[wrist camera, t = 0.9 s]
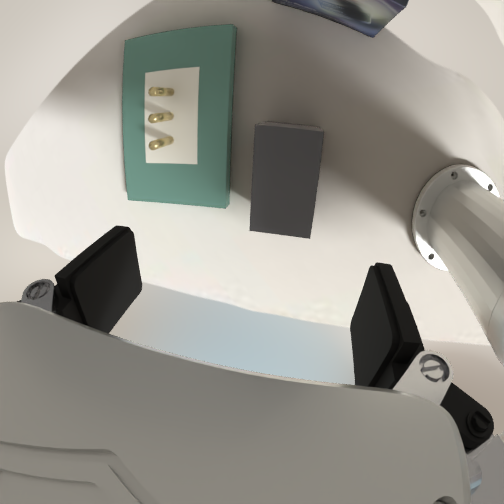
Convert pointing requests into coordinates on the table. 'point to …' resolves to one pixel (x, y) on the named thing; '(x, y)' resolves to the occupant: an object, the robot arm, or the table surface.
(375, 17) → the small box
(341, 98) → the table surface
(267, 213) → the block
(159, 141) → the header pins
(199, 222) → the table surface
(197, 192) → the board
